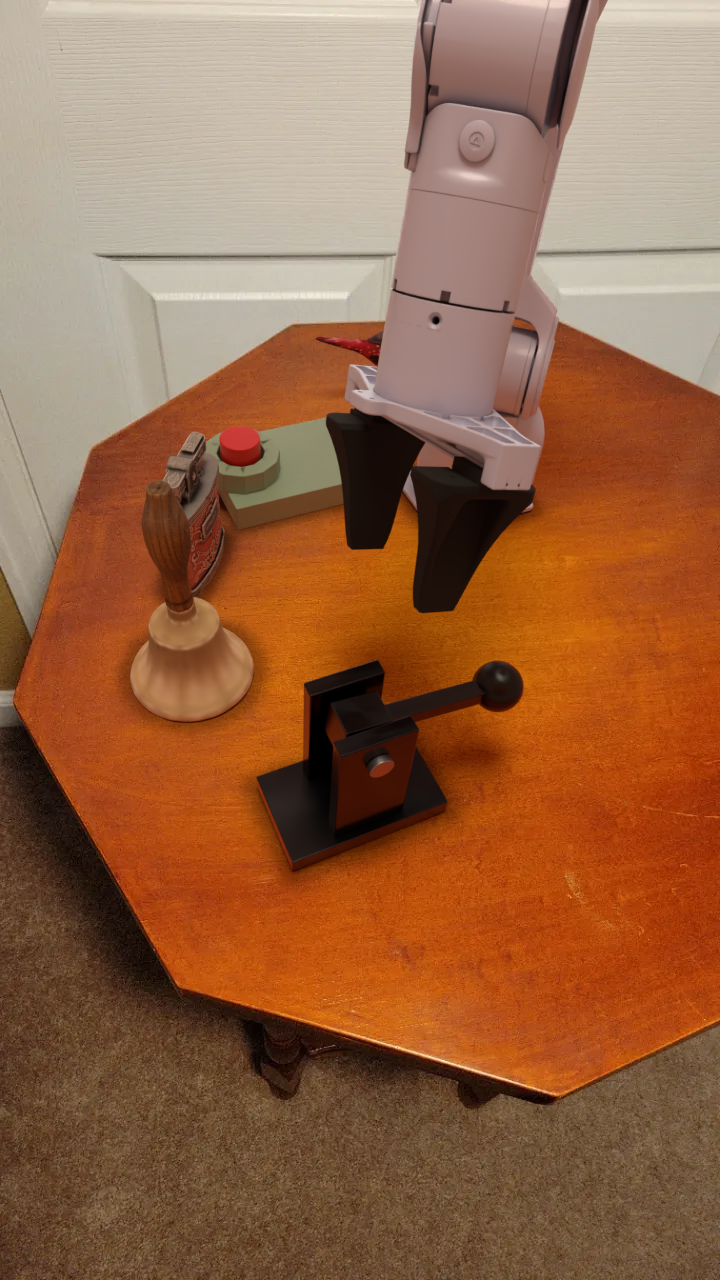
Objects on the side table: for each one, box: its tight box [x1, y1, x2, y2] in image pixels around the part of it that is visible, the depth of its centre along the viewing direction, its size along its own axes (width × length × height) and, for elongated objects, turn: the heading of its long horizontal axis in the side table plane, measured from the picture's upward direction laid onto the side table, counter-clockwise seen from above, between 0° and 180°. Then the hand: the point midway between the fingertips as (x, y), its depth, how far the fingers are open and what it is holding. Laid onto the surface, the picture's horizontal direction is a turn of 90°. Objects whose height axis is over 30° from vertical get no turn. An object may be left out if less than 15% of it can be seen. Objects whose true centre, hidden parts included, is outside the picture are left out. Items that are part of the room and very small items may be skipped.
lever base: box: [255, 659, 449, 872], centre depth 46 cm, size 10×6×10 cm, turn 114°
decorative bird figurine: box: [314, 330, 384, 367], centre depth 75 cm, size 3×18×10 cm, turn 103°
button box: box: [205, 417, 344, 531], centre depth 67 cm, size 14×9×4 cm, turn 114°
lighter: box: [161, 431, 226, 598], centre depth 58 cm, size 8×3×10 cm, turn 168°
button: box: [219, 425, 261, 467], centre depth 64 cm, size 3×3×2 cm
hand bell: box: [129, 479, 255, 723], centre depth 49 cm, size 8×8×16 cm
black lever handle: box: [325, 660, 525, 745], centre depth 45 cm, size 12×3×3 cm, turn 114°
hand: (397, 576), depth 42 cm, fingers open, 7 cm apart
